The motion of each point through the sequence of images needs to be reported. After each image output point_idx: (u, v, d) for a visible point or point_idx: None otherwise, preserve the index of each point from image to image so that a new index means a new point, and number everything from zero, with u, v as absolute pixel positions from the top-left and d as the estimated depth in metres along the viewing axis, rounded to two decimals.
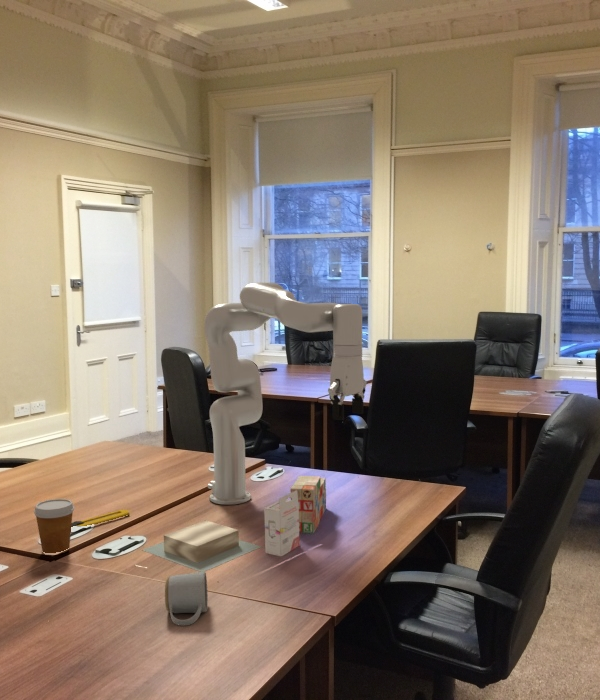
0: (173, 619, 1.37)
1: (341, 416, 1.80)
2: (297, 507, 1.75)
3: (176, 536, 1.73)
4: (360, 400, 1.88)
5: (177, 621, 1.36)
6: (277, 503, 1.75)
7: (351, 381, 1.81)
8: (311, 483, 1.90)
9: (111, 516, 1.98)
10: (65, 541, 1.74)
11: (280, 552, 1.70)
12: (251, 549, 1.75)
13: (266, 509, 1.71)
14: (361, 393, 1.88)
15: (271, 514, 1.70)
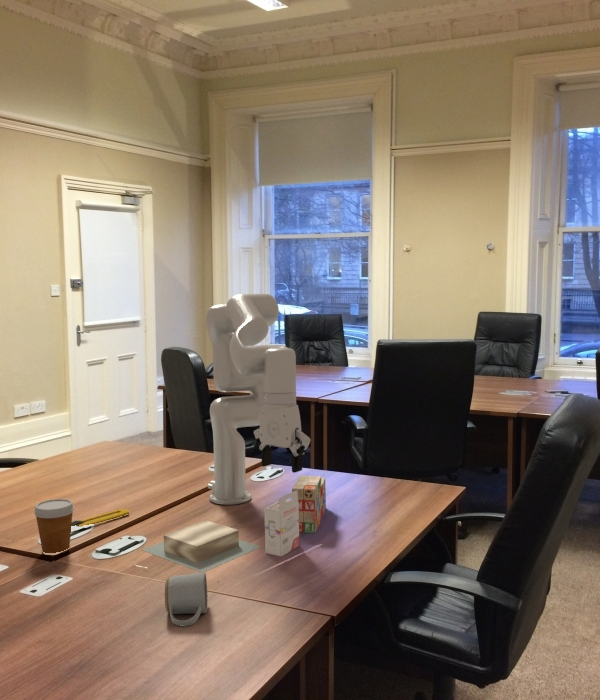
0: (173, 620, 1.37)
1: None
2: (297, 507, 1.75)
3: (176, 536, 1.73)
4: (270, 450, 1.76)
5: (177, 622, 1.36)
6: (277, 503, 1.75)
7: None
8: (312, 483, 1.90)
9: (111, 515, 1.99)
10: (65, 541, 1.74)
11: (280, 552, 1.70)
12: (251, 549, 1.75)
13: (266, 509, 1.71)
14: None
15: (271, 514, 1.70)
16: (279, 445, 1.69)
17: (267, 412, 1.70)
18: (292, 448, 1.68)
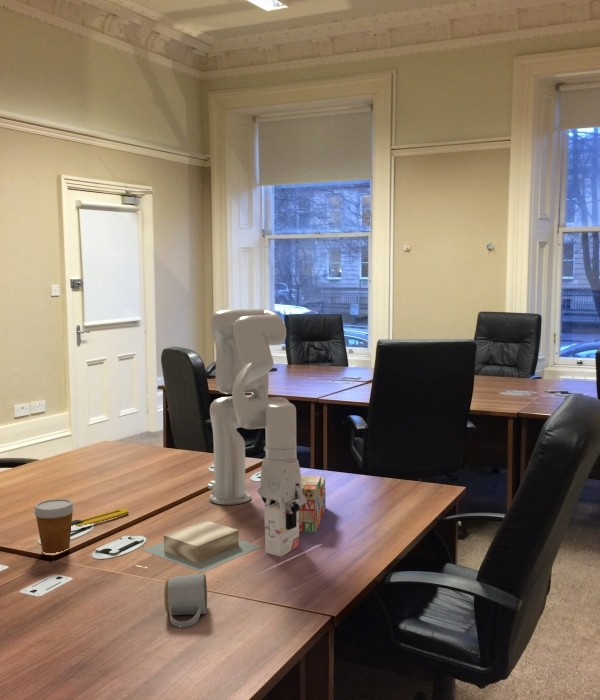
0: (172, 621, 1.36)
1: None
2: None
3: (176, 536, 1.73)
4: None
5: (176, 623, 1.36)
6: (277, 503, 1.75)
7: None
8: (312, 483, 1.90)
9: (110, 515, 1.99)
10: (65, 541, 1.74)
11: (280, 551, 1.70)
12: (251, 549, 1.75)
13: (266, 509, 1.71)
14: None
15: (271, 514, 1.70)
16: None
17: (268, 466, 1.72)
18: (288, 505, 1.70)
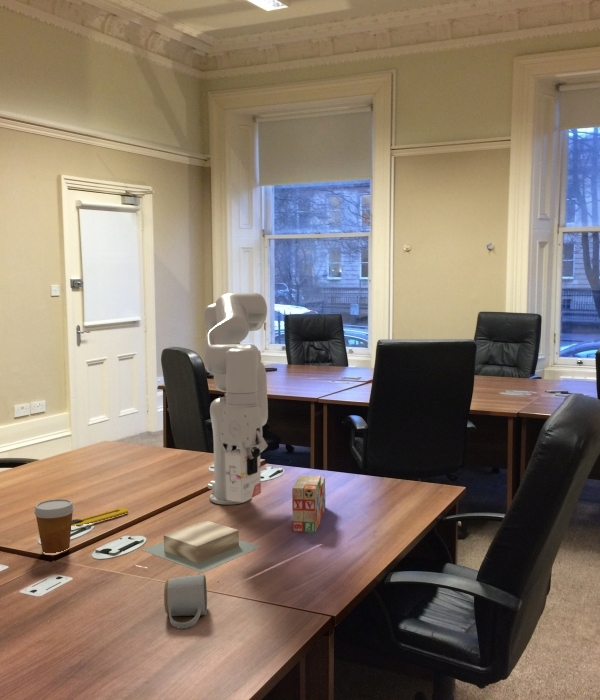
0: (172, 622, 1.36)
1: None
2: None
3: (176, 536, 1.73)
4: None
5: (176, 624, 1.35)
6: (238, 449, 1.74)
7: None
8: (312, 482, 1.91)
9: (110, 514, 2.00)
10: (65, 541, 1.74)
11: (241, 496, 1.69)
12: (251, 549, 1.75)
13: (227, 454, 1.70)
14: None
15: (232, 459, 1.69)
16: None
17: (229, 412, 1.71)
18: (249, 450, 1.70)
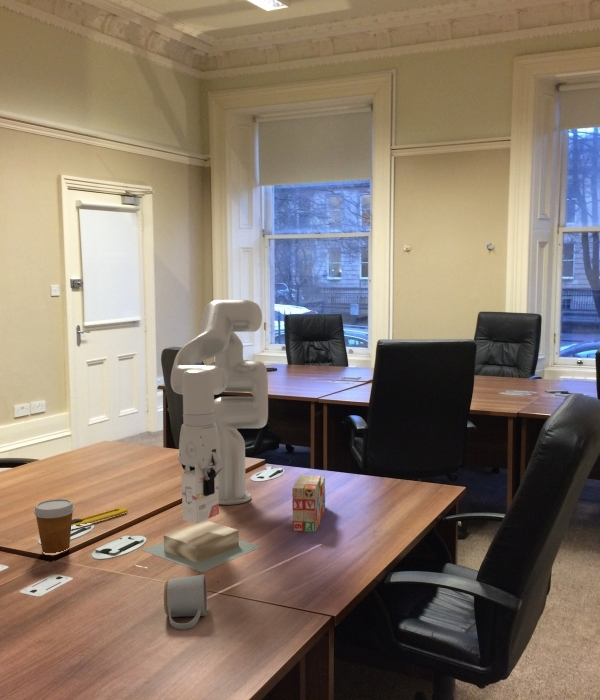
0: (172, 623, 1.35)
1: None
2: None
3: (176, 536, 1.73)
4: None
5: (176, 625, 1.35)
6: None
7: None
8: (312, 482, 1.91)
9: (109, 514, 2.00)
10: (65, 541, 1.74)
11: (196, 517, 1.70)
12: (251, 549, 1.75)
13: (183, 475, 1.71)
14: None
15: (188, 480, 1.70)
16: None
17: (186, 433, 1.72)
18: (205, 471, 1.71)
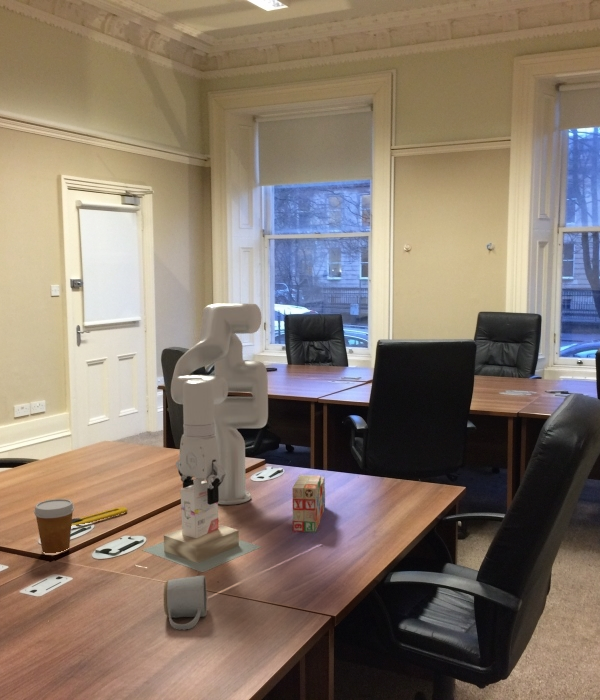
0: (172, 623, 1.35)
1: None
2: None
3: (176, 536, 1.73)
4: (192, 481, 1.77)
5: (176, 625, 1.35)
6: None
7: None
8: (312, 482, 1.91)
9: (109, 513, 2.01)
10: (65, 541, 1.74)
11: (195, 532, 1.71)
12: (251, 549, 1.75)
13: (182, 490, 1.72)
14: None
15: (186, 495, 1.71)
16: (196, 476, 1.71)
17: (186, 443, 1.72)
18: (208, 480, 1.70)
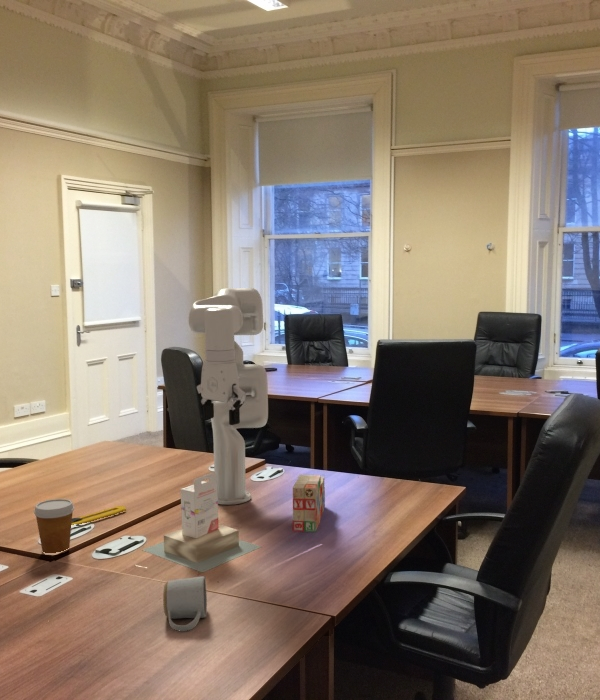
0: (172, 625, 1.35)
1: None
2: (215, 489, 1.76)
3: (176, 536, 1.73)
4: (212, 404, 1.87)
5: (176, 627, 1.34)
6: None
7: None
8: (312, 482, 1.91)
9: (108, 512, 2.02)
10: (65, 541, 1.74)
11: (195, 532, 1.71)
12: (251, 549, 1.75)
13: (182, 490, 1.72)
14: None
15: (186, 495, 1.71)
16: (217, 399, 1.79)
17: (207, 368, 1.81)
18: (229, 402, 1.79)
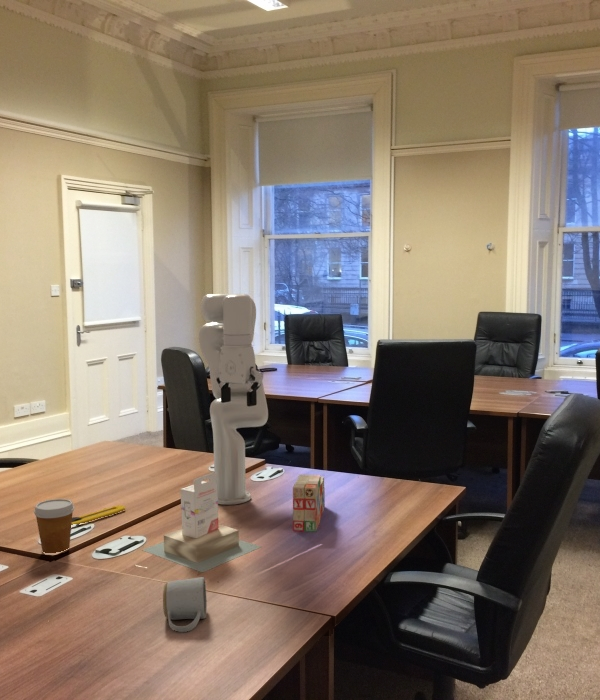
0: (171, 626, 1.34)
1: None
2: (215, 489, 1.76)
3: (176, 536, 1.73)
4: (229, 388, 1.95)
5: (175, 628, 1.34)
6: None
7: None
8: (312, 482, 1.91)
9: (108, 512, 2.02)
10: (65, 541, 1.74)
11: (195, 532, 1.71)
12: (251, 549, 1.75)
13: (182, 490, 1.72)
14: None
15: (186, 495, 1.71)
16: (235, 382, 1.88)
17: (226, 352, 1.89)
18: (247, 384, 1.87)
